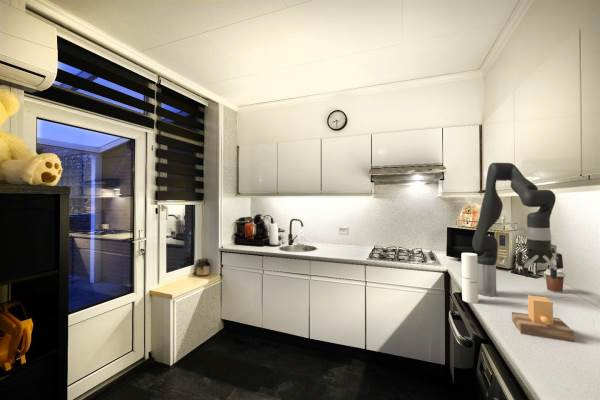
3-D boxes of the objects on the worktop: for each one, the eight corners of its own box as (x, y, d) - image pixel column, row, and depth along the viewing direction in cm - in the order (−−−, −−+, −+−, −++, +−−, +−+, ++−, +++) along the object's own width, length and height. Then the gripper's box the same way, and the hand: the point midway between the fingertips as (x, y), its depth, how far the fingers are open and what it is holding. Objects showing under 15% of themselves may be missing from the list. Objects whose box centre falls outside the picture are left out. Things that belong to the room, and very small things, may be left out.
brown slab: (511, 320, 118) (511, 298, 118) (559, 327, 111) (558, 303, 111) (521, 333, 107) (520, 309, 107) (574, 341, 100) (573, 315, 100)
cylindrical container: (463, 297, 147) (462, 252, 146) (478, 300, 142) (478, 253, 142) (461, 301, 141) (460, 254, 141) (477, 304, 136) (476, 256, 136)
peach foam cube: (528, 316, 113) (528, 295, 113) (546, 318, 111) (546, 297, 110) (536, 326, 105) (536, 303, 105) (556, 328, 102) (556, 305, 102)
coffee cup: (570, 294, 147) (570, 272, 147) (551, 293, 148) (550, 272, 148) (558, 288, 156) (557, 268, 156) (540, 288, 157) (539, 268, 157)
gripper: (557, 237, 109) (557, 276, 109) (514, 236, 115) (514, 273, 115) (565, 240, 102) (566, 282, 103) (519, 238, 108) (520, 278, 109)
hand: (539, 277), depth 109 cm, fingers open, 8 cm apart
